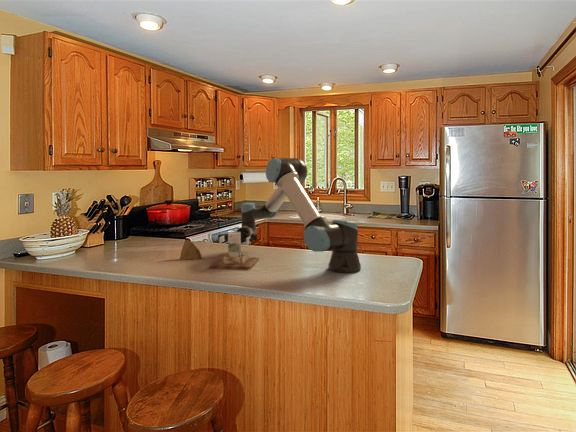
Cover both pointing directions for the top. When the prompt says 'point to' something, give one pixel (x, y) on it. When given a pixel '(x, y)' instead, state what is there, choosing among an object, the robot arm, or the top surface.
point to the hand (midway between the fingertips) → (233, 240)
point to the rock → (189, 251)
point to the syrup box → (234, 244)
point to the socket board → (234, 262)
